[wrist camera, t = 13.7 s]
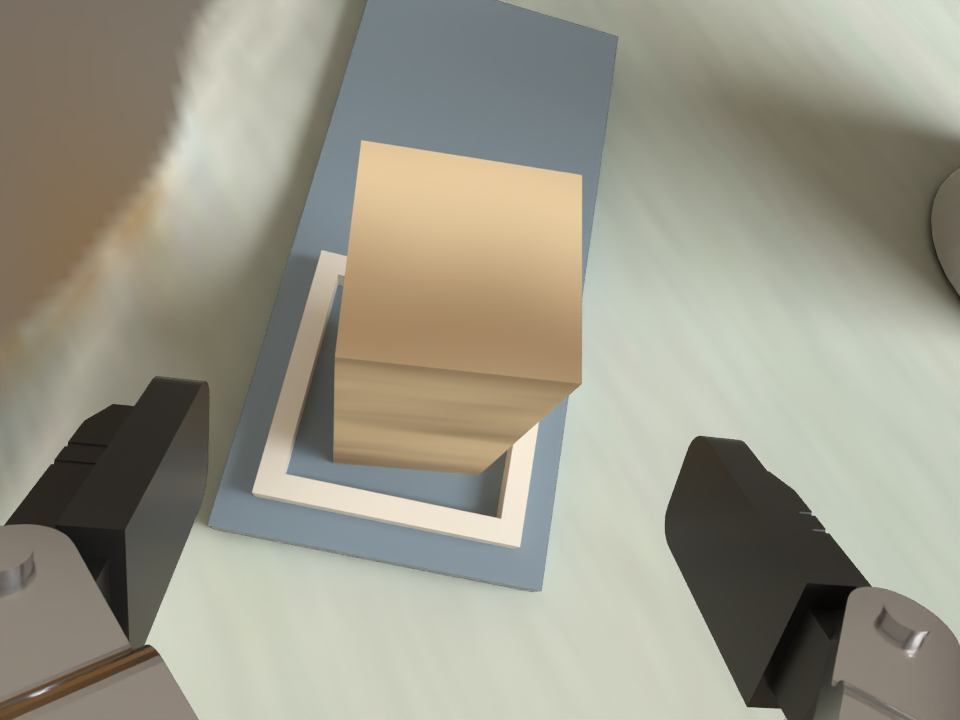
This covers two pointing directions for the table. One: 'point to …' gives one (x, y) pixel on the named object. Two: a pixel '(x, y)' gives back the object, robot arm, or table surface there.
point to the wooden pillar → (455, 309)
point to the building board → (320, 279)
